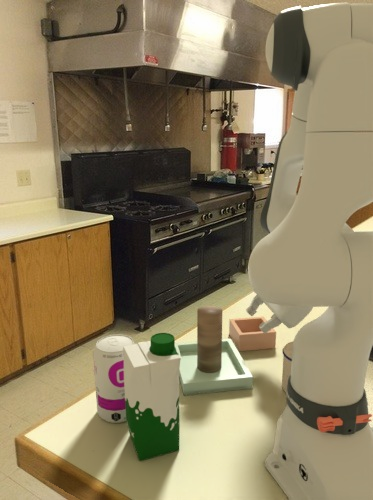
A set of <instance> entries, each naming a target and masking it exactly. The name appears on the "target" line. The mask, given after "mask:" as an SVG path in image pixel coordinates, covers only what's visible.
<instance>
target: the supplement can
mask: <svg viewBox="0 0 373 500" xmlns="http://www.w3.org/2000/svg"><path fill="white" fill-rule="evenodd" d="M133 344H136V343H135V342H134V340H133V338H132V337H131V336H129V335H126V334H118V333H116V334H110V335H106V336H103V337H101V338H100V339H98V340H97V341H96V343H95V347H94V349H93V351H92V353H93V355H92V356H93V367H94V369H93V370H94V371H93V372H94V382H95V383H94V384H95V385H94V386H95V395H96V396H95V397H96V410H97V415H98V416H99V417H100V418H101V419H102V420H104V421H106V422H107V423H112V424H118V423H119V424H120V423H124V422H127V421H126V407H125V388H124V353H123V346H128V345H133Z"/></svg>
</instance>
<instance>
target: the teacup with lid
mask: <svg viewBox="0 0 373 500" xmlns="http://www.w3.org/2000/svg"><path fill="white" fill-rule="evenodd" d="M292 350H293V341H290V342H287V343H286V344H285V345H284V346H283V348H282V355H283V356H282V357H283V358H282V359H283V360H282V373H281V374H282V376H281V388H282V390H283V391H284V392H285V393H286V388H287V384H288V378H289V376H290V375H291V364H292Z"/></svg>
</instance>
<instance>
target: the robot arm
mask: <svg viewBox="0 0 373 500" xmlns="http://www.w3.org/2000/svg"><path fill="white" fill-rule="evenodd" d="M264 49H265V50H264V51H265V60H266V64H267V67H268V69H269V72H270V76H271V77H272V78H274V79H275V81H277V82H278V83H280V84H283V85H285V86H288V87H291V88H292V89H291V90H293V91H294V94H293V101H292V108H291V109H292V111H291V117H290V118H291V119H290V124H289V127H288V130H287V132H285V133H284V134H283V135H282V137H281V139H280V140H279V144H278V146H277V150H276V153H275V158H274V162H273V169H272V172H271V173H272V174H271V178H270V182H269V183H270V184H269V189H268V193H267V195H266V196H267V197H266V200H265V202H264V205H263V206H262V209H261V212H260V226H261V229H262V230H263V231H264V232H265V233H266V234H267V235H265V236H264V237H262V238H261V239H260V240H259V241H257V243H256V244H255V246H254V247H253V249H252V251H251V253H250V256H249V259H248V265H247V272H248V274H247V275H248V280H249V283H250V285H251V288H252V291H253V292H254V294H255V296H253V299H252V300H251V303H250V305H249V306H248V307H247V308H246V310H245V311H246V313H247V314H248V315H249V316H250V317H254V316H255V314H256V313H258V311H257V310H258V308H259V306H262V305H263V304H265V306H267V307H268V309H269V310H270V311H271V312H272V315H271V316H270V319H269V320H267V322H264V321H263V322H262V323H261V325H259V328H260V330H261V331H262V332H263V333H267V332H268V331H269V330H270V329H272V328H273V329H275V328H276V327H279V326H280V325H281V324H283V325H284V326H285V327H287V328H288V329H292V328H295V327H296V326H298V325H299V324H300V323H302V321H303V320H304V319H305V318H306V317H308V316H309V314H311V312H312V310H313V309H314V308H319V307H320V308H323V307H324V308H325V307H327V308H326V310H324V312H323V313H322V314H320V315H319V316H318V317H317V318H314V319H313V320H311V321H309V322H307V323H305V324H304V325H303V326H302V327H301V328H300V329H298V331H297V333H296V334H295V336H294V339H293V340H292V342H293V350H292V364H291V375H290V376H289V378H288V384H287V388H286V392H285V393H286V397H285V399H286V405H285V408H284V409H283V411H282V413H281V414H280V416H279V417H278V419H277V423H276V429H275V435H274V442H273V443H274V444H273V448H272V449H273V451H271V452H270V453H269V454H268V455H267V456H266V458H265V461H264V462H265V463H264V466H265V468H266V470H267V471H268V472H269V474H270V475H271V476H272V478H273V479H274V480H275V482H276V484H277V485H278V486H279V487H280V488H281V490H282V491H283V493H284V494H285V496H286V497H287V498H288V500H373V427H372V426H371V424H370V423H369V422H372V421H373V420H372V419H370V418H372V417H373V414H369V408H368V407H369V402H368V398H367V392H366V389H365V383H366V377H367V370H368V366H369V365H368V364H369V360H370V354H371V351H372V348H373V230H372V231H354V230H353V229H352V227H351V226H350V225H349V224H348V223H347V221H349V218H350V217H352V215H353V214H354V213H355V212H357V211H358V210H360V209H362V208H365V207H366V206H368V205H370V204H372V203H373V3H361V2H359V3H349V2H348V1H347V2H346V1H345V2H334V3H326V4H319V5H313V6H309V7H302V6H301V5H299V6H294V7H290V8H286V9H284V10H281V11H280V12H279V13H278V14H277V15H276V16H275V17H274V19H273V21H272V25H271V27H270V29H269V31H268V33H267V36H266V41H265V48H264ZM299 182H300V183H299ZM298 186H299V189H298ZM297 189H298V192H297Z"/></svg>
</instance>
